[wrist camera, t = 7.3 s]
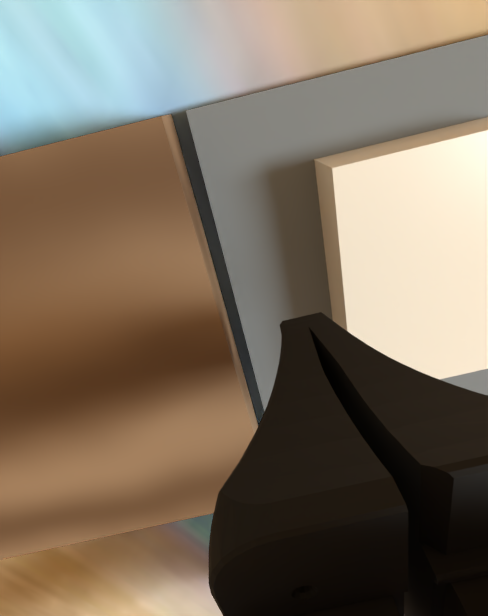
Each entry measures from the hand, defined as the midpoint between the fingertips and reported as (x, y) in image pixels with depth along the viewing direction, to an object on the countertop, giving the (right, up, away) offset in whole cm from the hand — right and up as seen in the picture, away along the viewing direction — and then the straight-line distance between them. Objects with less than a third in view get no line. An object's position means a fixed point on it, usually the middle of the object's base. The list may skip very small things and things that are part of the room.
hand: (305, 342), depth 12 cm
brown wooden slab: (-9, -1, +4) cm, 10 cm away
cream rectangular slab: (+4, +2, +2) cm, 5 cm away
